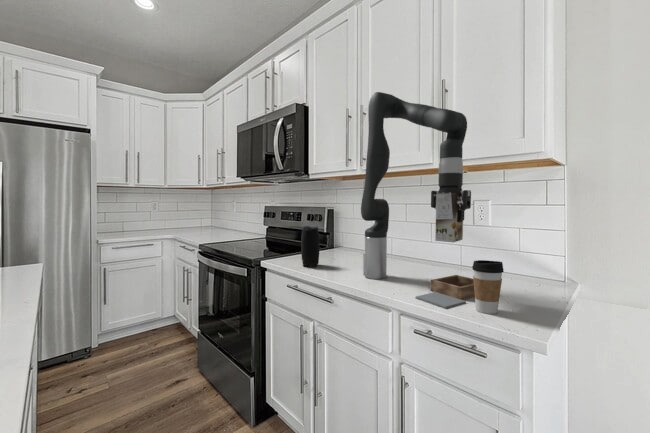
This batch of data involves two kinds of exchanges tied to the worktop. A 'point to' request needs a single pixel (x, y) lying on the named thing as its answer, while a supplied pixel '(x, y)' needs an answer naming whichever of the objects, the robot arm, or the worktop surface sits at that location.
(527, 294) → the worktop surface
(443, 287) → the walnut caddy
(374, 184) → the robot arm
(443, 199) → the coffee box
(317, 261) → the portable speaker
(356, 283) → the worktop surface
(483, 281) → the coffee cup
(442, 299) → the slate mat
